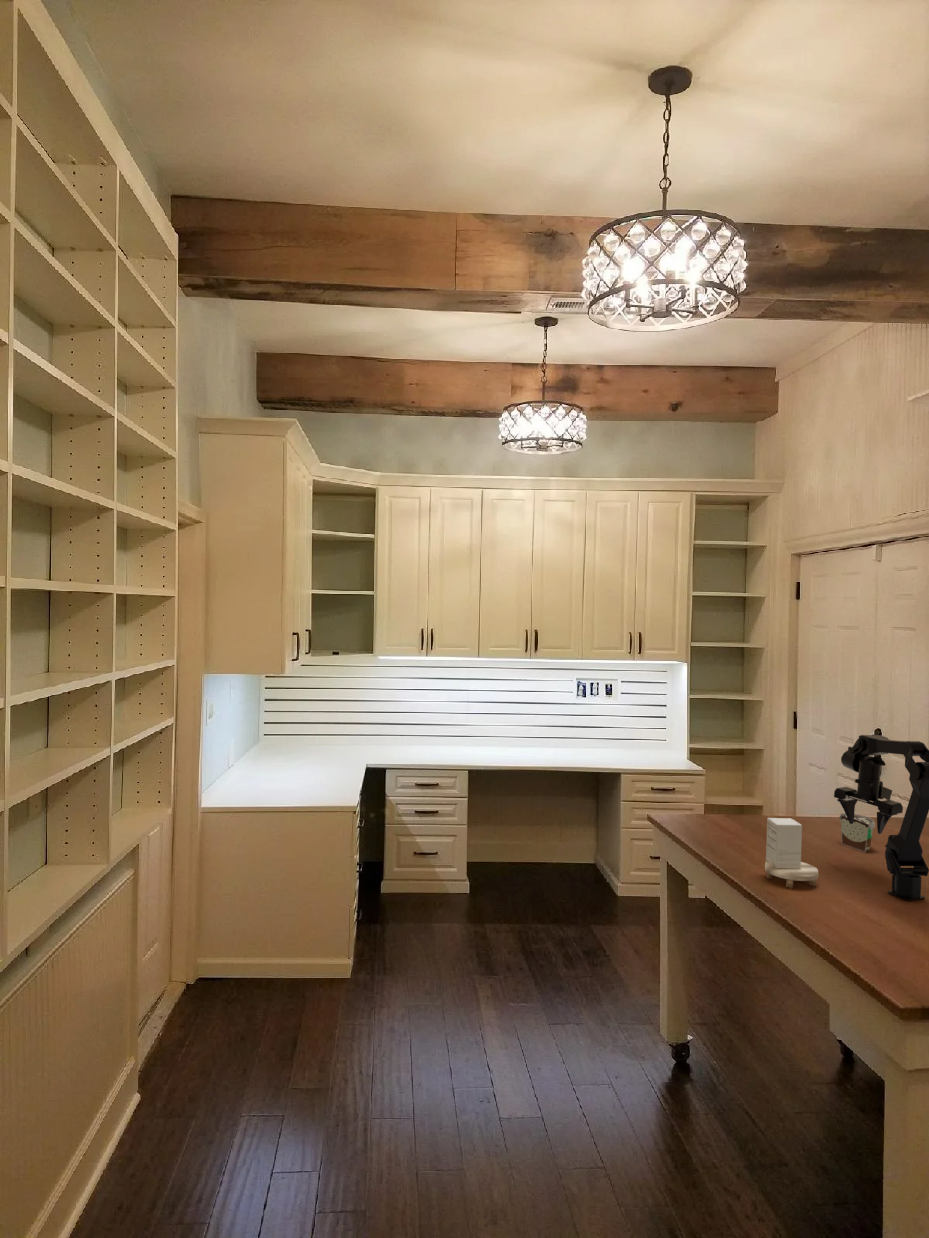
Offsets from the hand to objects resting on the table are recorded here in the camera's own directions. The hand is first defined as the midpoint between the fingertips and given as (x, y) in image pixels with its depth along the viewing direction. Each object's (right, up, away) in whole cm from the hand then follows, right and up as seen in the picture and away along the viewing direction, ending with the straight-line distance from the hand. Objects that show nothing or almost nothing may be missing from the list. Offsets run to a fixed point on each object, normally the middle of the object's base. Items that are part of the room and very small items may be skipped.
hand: (865, 828), depth 234 cm
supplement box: (-28, -9, -8) cm, 30 cm away
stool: (-26, -12, -10) cm, 30 cm away
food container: (+11, -13, +26) cm, 31 cm away
